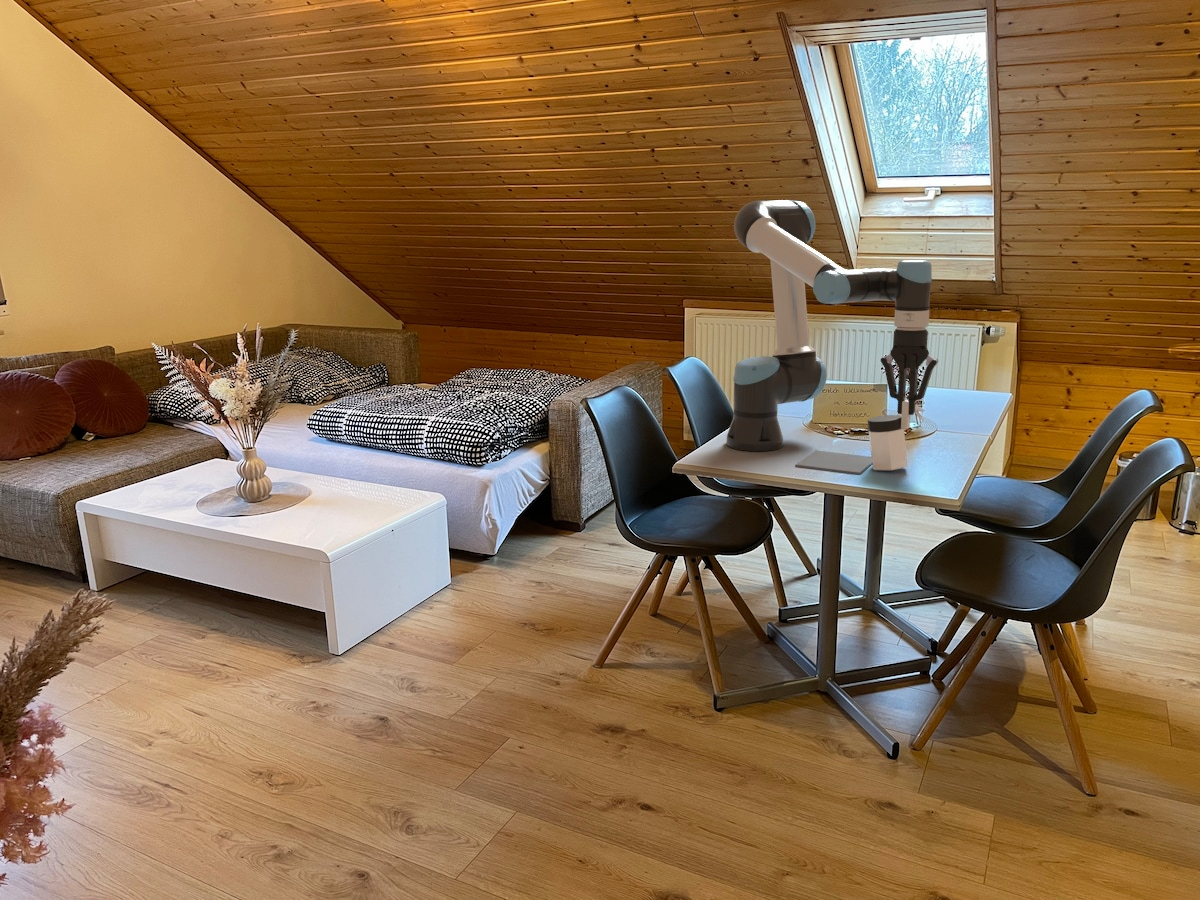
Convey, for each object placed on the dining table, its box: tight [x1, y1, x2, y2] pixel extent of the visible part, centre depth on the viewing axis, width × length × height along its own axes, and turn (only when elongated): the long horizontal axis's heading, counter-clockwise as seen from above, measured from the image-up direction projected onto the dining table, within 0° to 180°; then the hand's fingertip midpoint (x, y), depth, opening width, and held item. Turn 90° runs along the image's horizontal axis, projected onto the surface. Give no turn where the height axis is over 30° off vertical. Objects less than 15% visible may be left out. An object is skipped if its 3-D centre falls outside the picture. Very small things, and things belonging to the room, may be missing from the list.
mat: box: [794, 449, 872, 476], centre depth 224 cm, size 16×16×1 cm
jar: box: [867, 414, 908, 471], centre depth 217 cm, size 9×8×12 cm
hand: (905, 427), depth 214 cm, fingers closed
